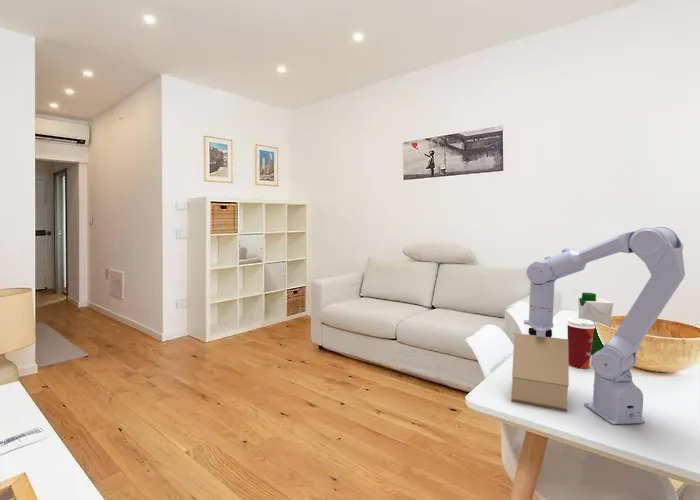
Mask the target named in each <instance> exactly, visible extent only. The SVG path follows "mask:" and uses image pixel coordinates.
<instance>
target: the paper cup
mask: <svg viewBox="0 0 700 500" xmlns="http://www.w3.org/2000/svg"><path fill="white" fill-rule="evenodd" d="M566 325H567V339H568V362H569V366H570V367H572V368H575V369H581V370H586V369H589V368H590V365H591V364H590V363H591V358H592V355H591V349H592V341H593V333H594V328H595V325H594V322H593V321H590V320H586V319H579V318H577V317H573V318H568V320H567V322H566Z"/></svg>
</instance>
